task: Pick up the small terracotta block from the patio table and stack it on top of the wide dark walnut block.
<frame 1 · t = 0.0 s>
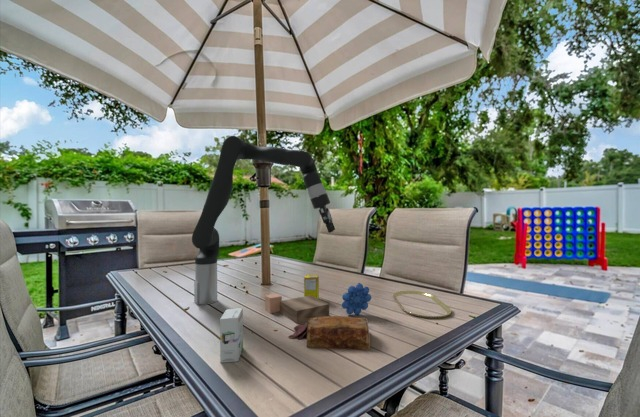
hand: (332, 231, 126), 31 cm above the table, tool tilted 20°, fingers open, 8 cm apart
yellow oval ring: (419, 305, 127), on the table
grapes: (356, 314, 115), on the table
cured meat: (327, 338, 95), on the table
supplement box: (311, 300, 134), on the table
ink box: (232, 355, 83), on the table
walnut block: (304, 315, 115), on the table
terracotta block: (273, 310, 120), on the table
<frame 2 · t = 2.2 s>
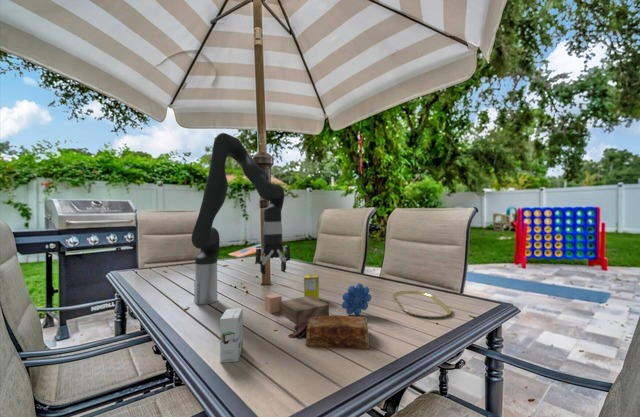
hand: (273, 272, 120), 15 cm above the table, tool pointing down, fingers open, 8 cm apart
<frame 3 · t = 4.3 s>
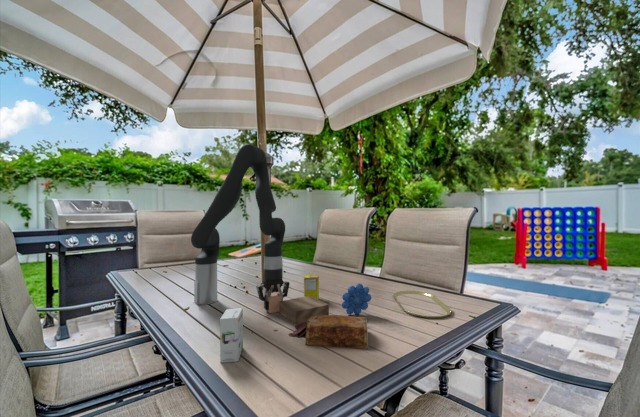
hand: (273, 308, 120), 1 cm above the table, tool pointing down, fingers closed on terracotta block, 5 cm apart
terracotta block: (273, 310, 120), on the table, touching gripper
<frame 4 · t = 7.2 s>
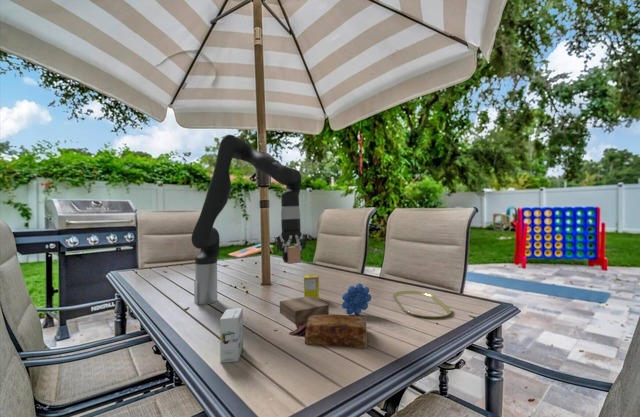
hand: (292, 260, 117), 21 cm above the table, tool pointing down, fingers closed on terracotta block, 5 cm apart
terracotta block: (292, 262, 117), point 20 cm above the table, touching gripper
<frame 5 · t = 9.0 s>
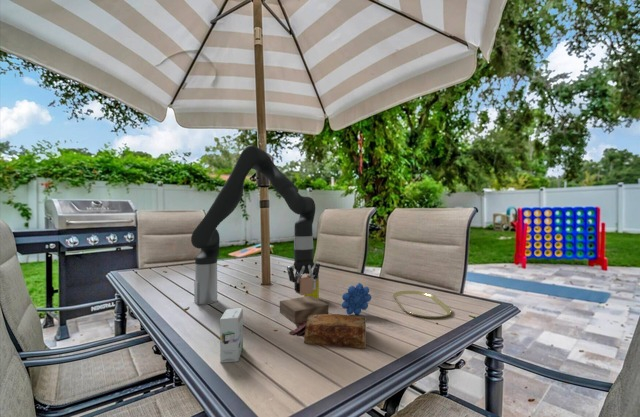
hand: (304, 291, 115), 9 cm above the table, tool pointing down, fingers closed on terracotta block, 5 cm apart
terracotta block: (304, 292, 115), point 8 cm above the table, touching gripper
when the fingers open (7 cm above the table, at t = 10.2 s): terracotta block drops 2 cm, resting on walnut block.
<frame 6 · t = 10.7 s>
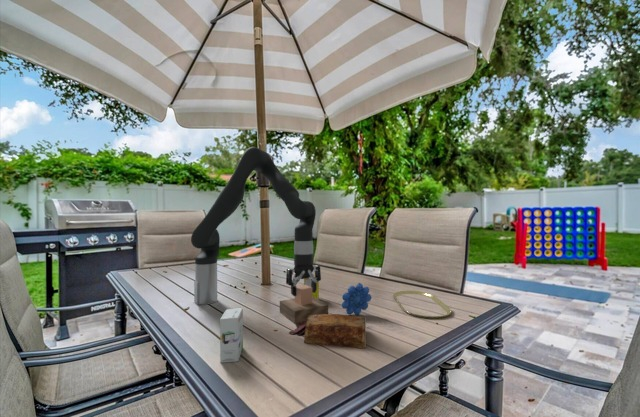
hand: (304, 293, 115), 8 cm above the table, tool pointing down, fingers open, 8 cm apart
walnut block: (303, 315, 115), on the table, touching terracotta block
terracotta block: (303, 302, 115), point 5 cm above the table, touching walnut block
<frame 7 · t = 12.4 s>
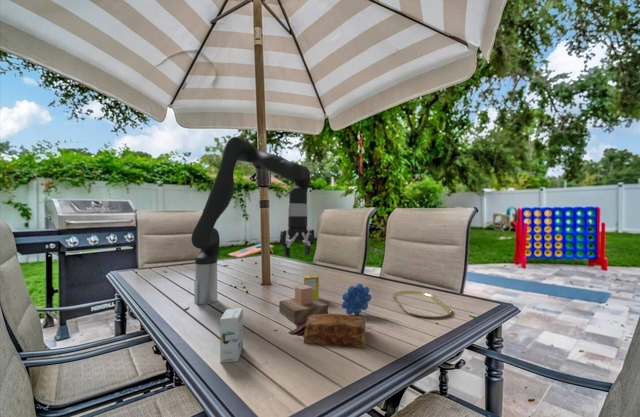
hand: (297, 256, 117), 22 cm above the table, tool pointing down, fingers open, 8 cm apart
walnut block: (303, 315, 115), on the table
terracotta block: (303, 302, 116), point 5 cm above the table
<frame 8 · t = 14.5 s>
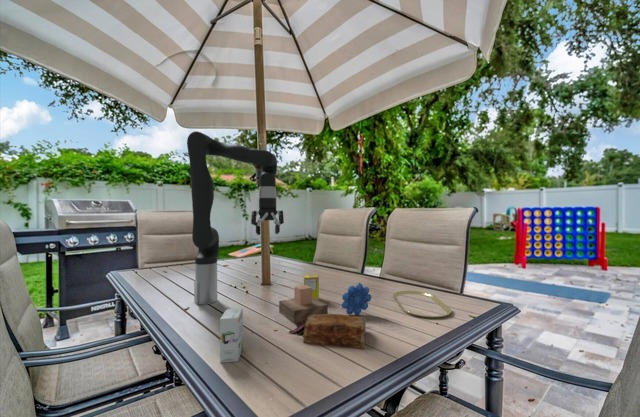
hand: (267, 234, 130), 30 cm above the table, tool pointing down, fingers open, 8 cm apart
at the end: terracotta block inside the target area on the walnut block (0.3 cm from its centre), point 5.0 cm above the walnut block's base; terracotta block tilted 0°; the gripper is holding nothing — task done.
